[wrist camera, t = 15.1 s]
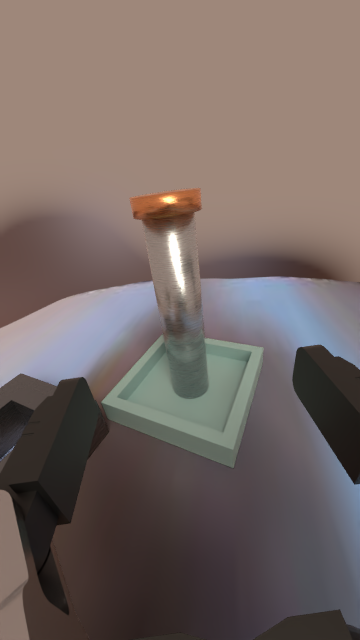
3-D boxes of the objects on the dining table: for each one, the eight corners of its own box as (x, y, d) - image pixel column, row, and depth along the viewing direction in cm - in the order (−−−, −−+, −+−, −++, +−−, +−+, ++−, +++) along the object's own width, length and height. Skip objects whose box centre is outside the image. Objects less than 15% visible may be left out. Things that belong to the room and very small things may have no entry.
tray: (167, 345, 32) (164, 331, 31) (262, 364, 27) (263, 347, 26) (107, 419, 23) (100, 402, 22) (233, 468, 18) (233, 449, 17)
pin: (180, 365, 27) (153, 192, 19) (220, 374, 25) (210, 186, 17) (159, 395, 24) (114, 200, 15) (204, 409, 22) (181, 193, 13)
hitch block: (37, 401, 26) (20, 373, 24) (108, 431, 22) (96, 400, 20) (-77, 499, 19) (-115, 470, 17) (-2, 574, 14) (-41, 548, 12)
